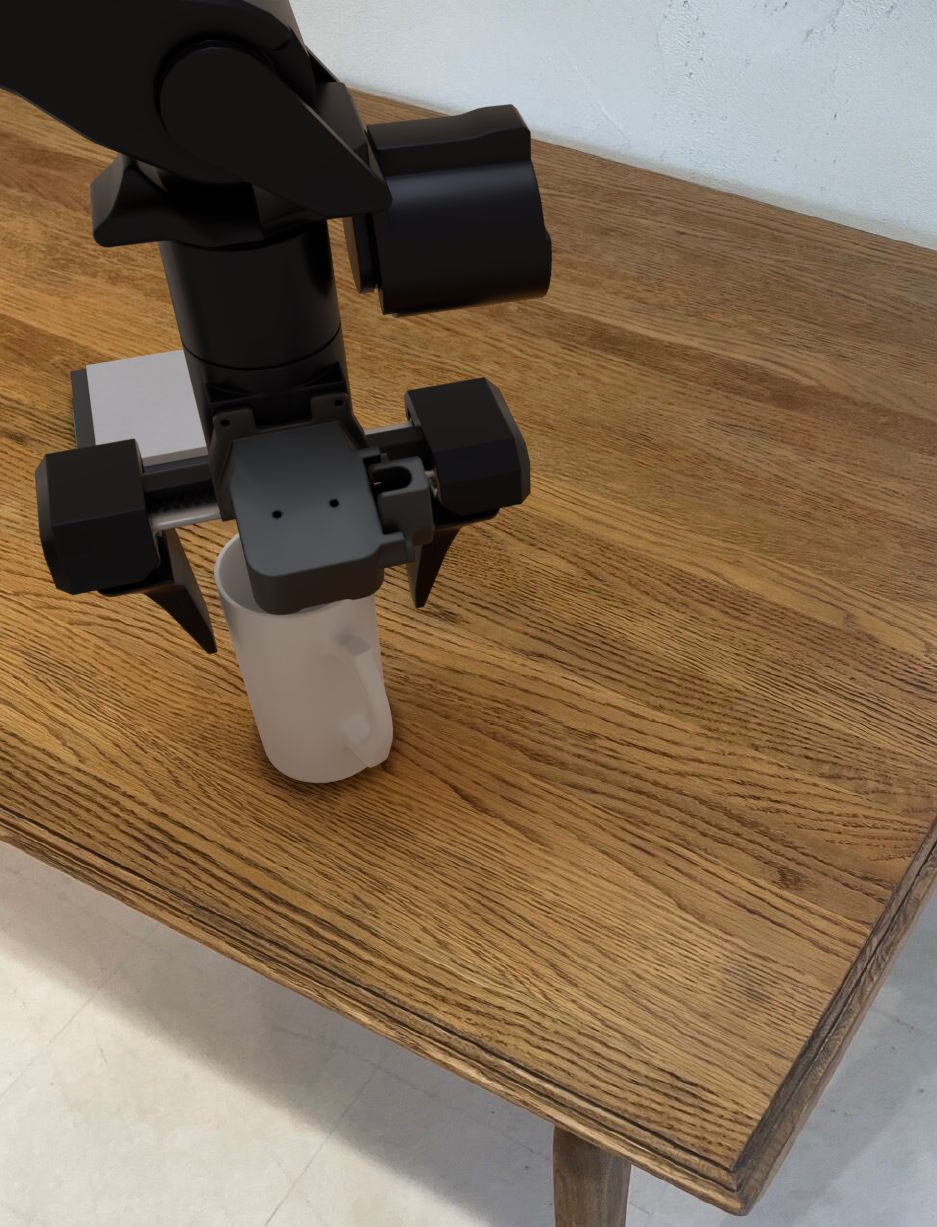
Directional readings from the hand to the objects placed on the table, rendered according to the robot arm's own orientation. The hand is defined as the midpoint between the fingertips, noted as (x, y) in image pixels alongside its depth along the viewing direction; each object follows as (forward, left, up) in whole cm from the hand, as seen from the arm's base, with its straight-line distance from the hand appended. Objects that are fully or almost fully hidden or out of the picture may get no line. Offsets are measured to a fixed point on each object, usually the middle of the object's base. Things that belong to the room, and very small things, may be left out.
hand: (316, 623), depth 58 cm
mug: (0, 0, -10) cm, 10 cm away
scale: (-4, +28, -10) cm, 30 cm away
